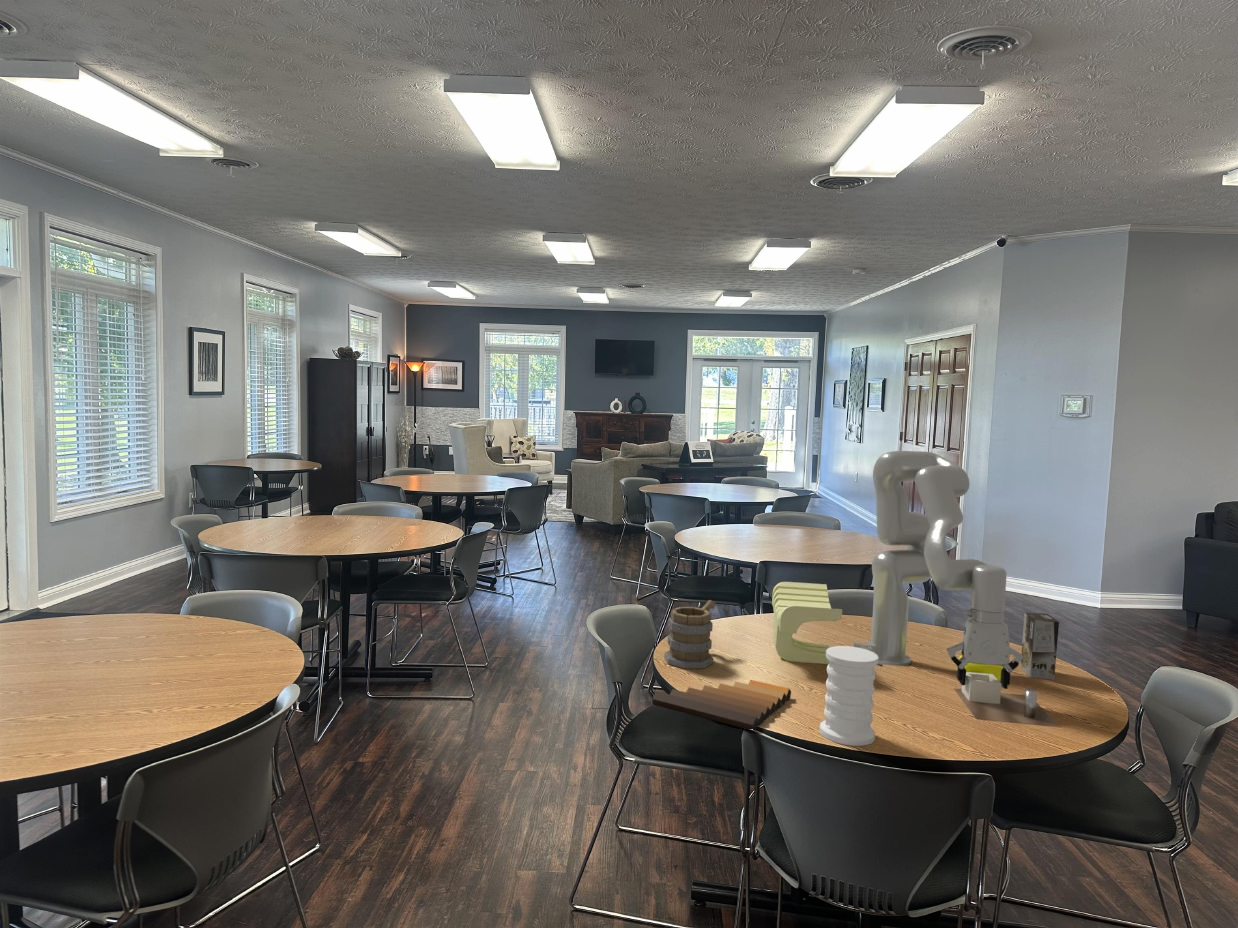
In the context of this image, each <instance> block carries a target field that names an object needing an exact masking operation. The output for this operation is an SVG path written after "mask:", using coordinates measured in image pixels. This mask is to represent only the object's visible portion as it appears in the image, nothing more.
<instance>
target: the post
mask: <svg viewBox="0 0 1238 928" xmlns="http://www.w3.org/2000/svg"><path fill="white" fill-rule="evenodd" d="M1024 695H1025V704H1024V716H1025V717H1027V718H1035V715H1036V703H1038V691H1037V690H1035V689H1029V688H1027V689H1025V694H1024Z"/></svg>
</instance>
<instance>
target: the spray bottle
mask: <svg viewBox="0 0 1238 928" xmlns="http://www.w3.org/2000/svg"><path fill="white" fill-rule="evenodd" d="M961 657H962V654H961V655H959V658H958V660H959V659H960V658H961ZM965 669H966V672H973V673H984V674H993V675H994V676H995V677H996V679H997V680H998V681H999V682H1000V681H1001V670H1002V669H1003V666H999V665H985V664H974V663H968V664H967V665H966V666H965Z"/></svg>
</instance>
